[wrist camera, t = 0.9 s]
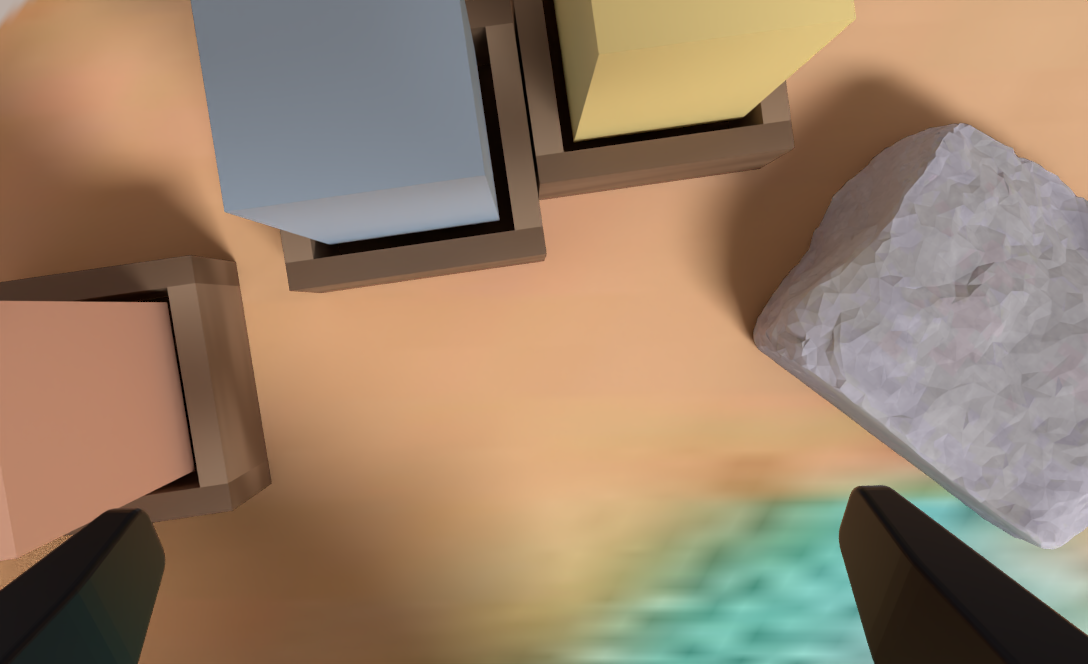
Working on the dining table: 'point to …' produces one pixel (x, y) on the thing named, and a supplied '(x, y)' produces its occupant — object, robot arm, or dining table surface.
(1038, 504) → the stone block
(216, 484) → the walnut sockets
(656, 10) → the ochre block
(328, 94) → the blue-grey block
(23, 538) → the tan block
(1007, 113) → the dining table surface
